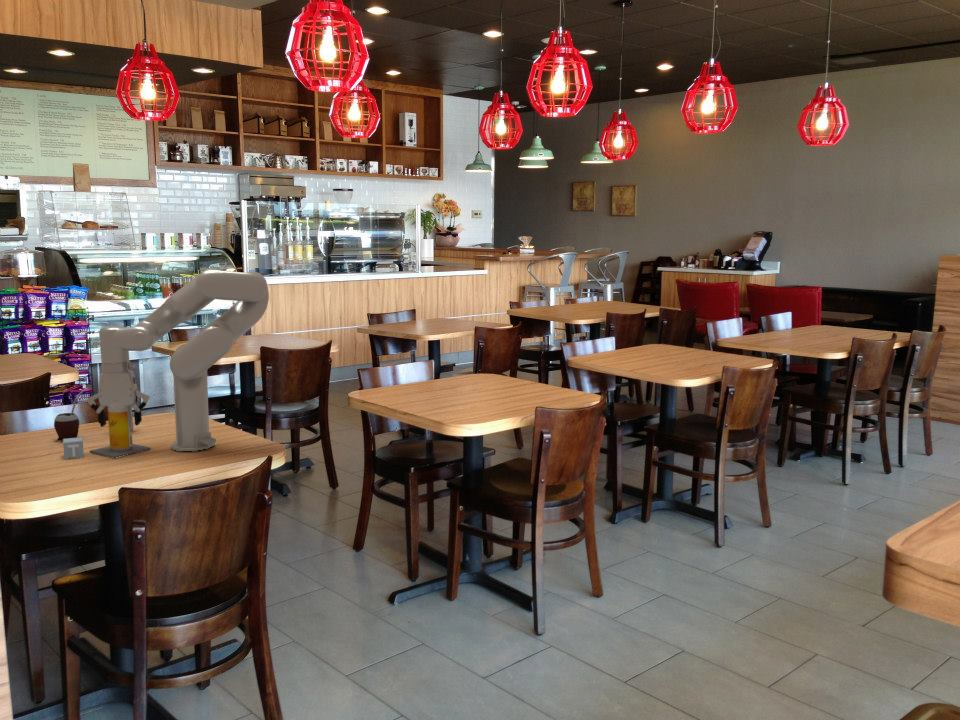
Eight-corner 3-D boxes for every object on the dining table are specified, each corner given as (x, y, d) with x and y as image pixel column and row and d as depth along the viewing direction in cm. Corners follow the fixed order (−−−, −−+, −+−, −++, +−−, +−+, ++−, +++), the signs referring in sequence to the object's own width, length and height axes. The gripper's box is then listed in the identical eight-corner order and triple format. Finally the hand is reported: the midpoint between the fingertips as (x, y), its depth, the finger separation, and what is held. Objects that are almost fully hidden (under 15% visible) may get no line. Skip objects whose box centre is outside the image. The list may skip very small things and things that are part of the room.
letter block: (64, 455, 235) (63, 438, 234) (83, 453, 237) (82, 437, 237) (64, 459, 231) (63, 442, 230) (83, 457, 233) (82, 441, 232)
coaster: (150, 449, 242) (150, 447, 242) (114, 458, 232) (114, 456, 232) (126, 443, 248) (125, 442, 248) (89, 452, 238) (89, 450, 238)
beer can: (112, 447, 242) (108, 398, 240) (133, 445, 244) (130, 397, 242) (108, 452, 237) (105, 401, 234) (131, 450, 238) (127, 400, 236)
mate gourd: (50, 442, 250) (47, 394, 248) (64, 436, 258) (60, 389, 255) (74, 442, 250) (71, 394, 247) (87, 436, 258) (84, 390, 255)
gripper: (150, 365, 241) (154, 421, 244) (89, 366, 239) (93, 423, 242) (143, 369, 234) (147, 426, 237) (80, 371, 232) (85, 429, 234)
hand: (120, 424), depth 239 cm, fingers open, 9 cm apart
